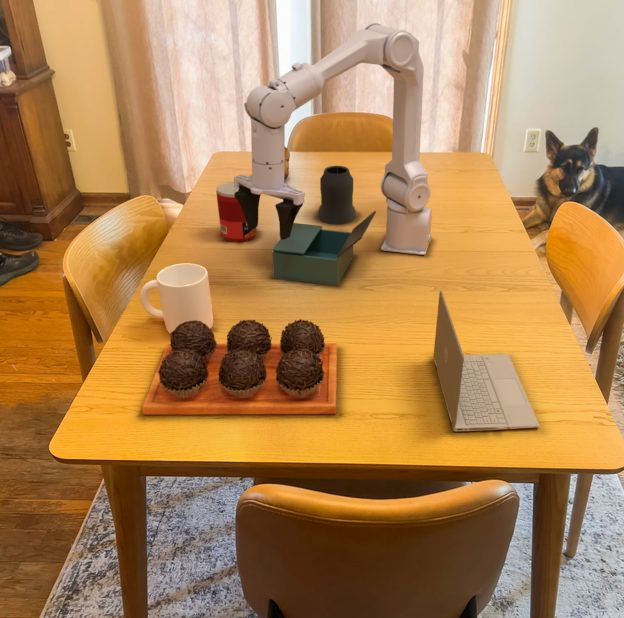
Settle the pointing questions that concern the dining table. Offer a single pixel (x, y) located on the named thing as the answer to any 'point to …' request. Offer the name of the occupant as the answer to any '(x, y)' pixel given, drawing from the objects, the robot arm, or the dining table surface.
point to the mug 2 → (336, 196)
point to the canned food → (232, 215)
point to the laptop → (478, 384)
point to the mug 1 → (180, 295)
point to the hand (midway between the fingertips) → (268, 232)
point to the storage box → (311, 255)
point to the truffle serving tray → (245, 372)
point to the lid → (356, 234)
